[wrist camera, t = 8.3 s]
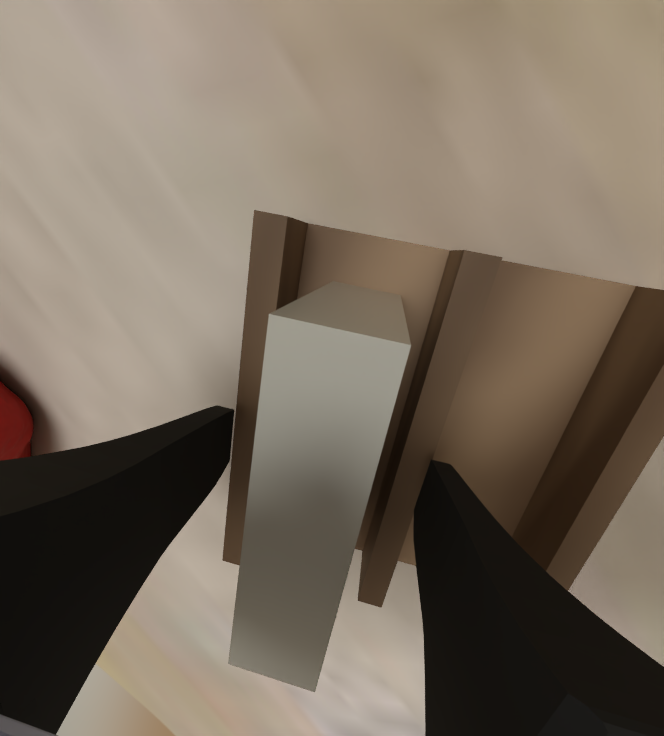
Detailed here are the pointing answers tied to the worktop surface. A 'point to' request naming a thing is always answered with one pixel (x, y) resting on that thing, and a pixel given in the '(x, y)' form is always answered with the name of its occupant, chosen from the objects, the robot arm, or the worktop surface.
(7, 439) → the pomegranate
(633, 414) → the rack
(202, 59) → the worktop surface
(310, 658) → the clay block
